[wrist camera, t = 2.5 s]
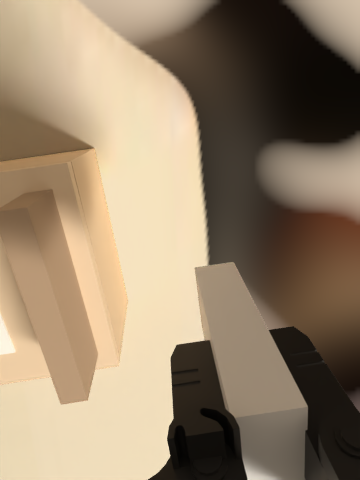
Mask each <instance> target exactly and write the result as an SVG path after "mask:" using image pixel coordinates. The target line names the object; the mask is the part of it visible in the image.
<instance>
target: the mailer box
mask: <svg viewBox="0 0 360 480" xmlns="http://www.w3.org/2000/svg"><path fill="white" fill-rule="evenodd" d="M67 161H71V165H72V169H73V173H74V177H75V181H76V185H77V189H78V193H79V197H80V201H81V205H82V209H83V213H84V217H85V221H86V225H87V229H88V233H89V237H90V241H91V245H92V249H93V253H94V257H95V261H96V265H97V269H98V273H99V277H100V281H101V285H102V289H103V293H104V297H105V301H106V305H107V309H108V313H109V317H110V321H111V325H112V329H113V333H114V337H115V341H116V345H117V349H118V353H119V357H120V354H121V347H122V340H123V333H124V325H125V318H126V311H127V304H128V299H127V294H126V290H125V285H124V281H123V276H122V272H121V267H120V262H119V258H118V253H117V249H116V244H115V240H114V235H113V231H112V226H111V222H110V217H109V212H108V208H107V203H106V199H105V194H104V190H103V185H102V181H101V176H100V172H99V167H98V163H97V158H96V153H95V149H94V148H92V149H85V150H78V151H71V152H64V153H57V154H50V155H43V156H36V157H29V158H22V159H14V160H7V161H0V171H4V170H11V169H18V168H25V167H32V166H39V165H46V164H53V163H60V162H67Z"/></svg>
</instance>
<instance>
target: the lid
mask: <svg viewBox="0 0 360 480" xmlns="http://www.w3.org/2000/svg"><path fill="white" fill-rule="evenodd" d="M119 361H120V357H119V353H118V349H117V345H116V341H115V337H114V333H113V329H112V325H111V321H110V317H109V313H108V309H107V305H106V301H105V297H104V293H103V289H102V285H101V281H100V277H99V273H98V269H97V265H96V261H95V257H94V253H93V249H92V245H91V241H90V237H89V233H88V229H87V225H86V221H85V217H84V213H83V209H82V205H81V201H80V197H79V193H78V189H77V185H76V181H75V177H74V173H73V169H72V165H71V161H67V162H60V163H53V164H46V165H39V166H32V167H25V168H18V169H11V170H4V171H0V385H3V384H9V383H15V382H22V381H28V380H34V379H41V378H47V377H51V378H52V381H53V384H54V386H55V389H56V392H57V395H58V398H59V400H60V403H61V404H68V403H74V402H80V401H86V400H88V397H89V393H90V388H91V384H92V380H93V375H94V371H95V370H97V369H104V368H110V367H116V366H119Z"/></svg>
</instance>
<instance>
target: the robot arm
mask: <svg viewBox="0 0 360 480" xmlns="http://www.w3.org/2000/svg"><path fill="white" fill-rule="evenodd" d="M195 274H196V282H197V290H198V298H199V306H200V314H201V322H202V328H203V333H204V338H205V341H200V342H193V343H186V344H179V345H177V346H176V348H175V350H174V352H173V354H172V356H171V374H172V395H173V414H174V419H173V421H172V423H171V424H170V426H169V431H168V437H167V441H168V446H169V451H170V455H171V456H170V458H169V460H168V461H167V463H166V465H165V466H164V467H163V468H162V469H161V470H160V471H159V472H158V473H157V474H156V475H154V476H153V477H151V478H150V479H148V480H360V413H359V411H358V410H357V409H356V407H355V406H354V404H353V403H352V401H351V400H350V399H349V397H348V395H347V394H346V393H345V391H344V390H343V388H342V387H341V385H340V384H339V382H338V381H337V379H336V378H335V376H334V375H333V373H332V372H331V371H330V369H329V368H328V366H327V364H325V363H324V360H323V359H322V357H321V356H320V354H319V353H318V352H317V350H316V348H315V347H314V345H313V344H312V342H311V341H310V339H309V338H308V337H307V336H306V335H305V334H303V333H302V332H300V331H299V330H298V329H296V328H294V327H286V328H279V329H273V330H268V328H267V326H266V324H265V323H264V320H263V318H262V317H261V315H260V313H259V311H258V309H257V307H256V305H255V303H254V301H253V299H252V297H251V295H250V293H249V291H248V289H247V287H246V285H245V284H244V282H243V280H242V278H241V276H240V274H239V272H238V270H237V268H236V267H235V264H234V262H230V263H224V264H216V265H210V266H203V267H196V268H195Z"/></svg>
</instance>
